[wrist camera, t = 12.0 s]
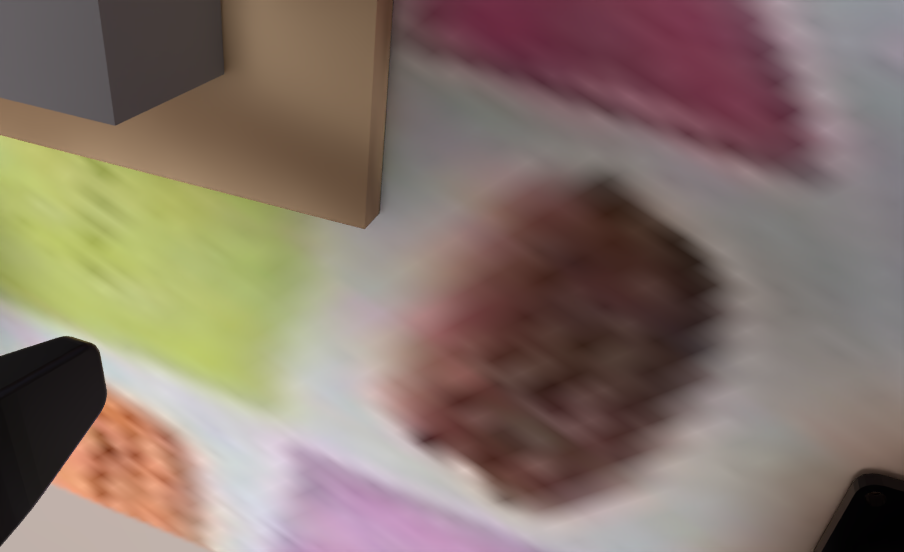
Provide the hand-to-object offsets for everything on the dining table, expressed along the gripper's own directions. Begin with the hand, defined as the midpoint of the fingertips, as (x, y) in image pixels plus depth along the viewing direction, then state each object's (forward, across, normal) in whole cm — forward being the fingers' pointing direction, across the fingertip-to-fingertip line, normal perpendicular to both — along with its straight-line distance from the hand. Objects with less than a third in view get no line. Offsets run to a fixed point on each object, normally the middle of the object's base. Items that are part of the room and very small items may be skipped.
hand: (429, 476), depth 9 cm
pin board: (+11, +11, -5) cm, 16 cm away
